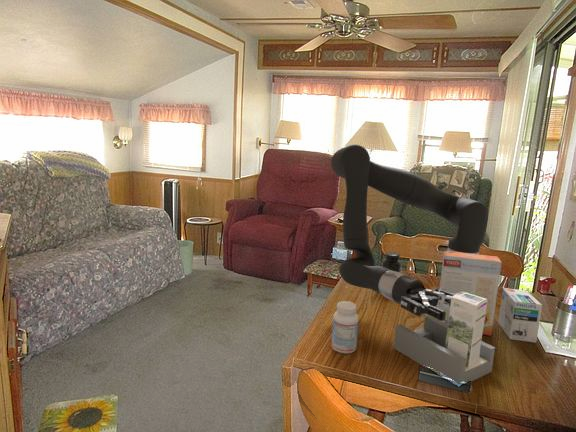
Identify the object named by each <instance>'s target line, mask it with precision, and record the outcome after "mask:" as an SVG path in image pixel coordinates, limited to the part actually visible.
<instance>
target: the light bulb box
mask: <svg viewBox="0 0 576 432" xmlns="http://www.w3.org/2000/svg"><path fill="white" fill-rule="evenodd" d="M501 295H502V296H501V301H500V309H499V314H498V320H497V323H498V324H499V325H500V327H501V329H502V330H503V332H504V333H505V335H506V336H507V338H508V339H509V340H513V341H518V342H519V341H521V342H527V343H529V342H530V343H537V339H538V334H539V333H538V332H539V327H540V322H541V315H542V310H543V304H542V303H541V302H540V301H538V300H537V299H536V298H535V297H534V296H533V295H532V294H531V293H530V292H529V291H528V290H523V289H514V288H507V287H503V288H502V294H501Z"/></svg>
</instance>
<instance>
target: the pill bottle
mask: <svg viewBox="0 0 576 432" xmlns="http://www.w3.org/2000/svg"><path fill="white" fill-rule="evenodd" d="M356 312H357V304H356V303H354V302H352V301H348V300H347V301H346V300H342V301H339V302H337V304H336V311H335V312H334V314H333V317H332V329H331V330H332V331H331V343H330V344H331V348H332V349H333V351H335V352H338V353H340V354H352V353H354V352H355V351H356V350H357V347H358V345H357V344H358V334H359V321H360V320H359V319H360V318H359V316H358V314H357V313H356Z"/></svg>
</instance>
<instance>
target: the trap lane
mask: <svg viewBox="0 0 576 432" xmlns="http://www.w3.org/2000/svg"><path fill="white" fill-rule="evenodd" d="M423 320H424V321H423V327H421V328H418V329H415V330H412V329H410V328H408V327H406V326H405V325H402V324H398V325H397V324H396V325H395V331H394V333H395V335H394V345H393V349H394V350H397V352H398V353H401V354H403V355H405V356H406V357H408V358H409V359H410V360H412V361H414V362H416V363H417V364H419V365H421V366H422V365H425V366H428V367H430V368H433V369H435V370H437V371H439V372H441V373H443V374H444V375H446V376H448V377H449V378H451V379H452V380H454V381H456V382H457V383H458V384H460V382H462V381H467V380H469V381H471V382H474V381H475V380H477V379H480V378H482V377H484V376H486V375H487V374H488V375H489V374H490V373H492V371H493V365H494V357H495V352H496V351H495V350H496V347H495V346H493V345H491V344H489V343H486V342H485V341H483V340H481V346H480V355H479V359H478V360H477V361H476V362H475V363H473V364H472V365H471V366H469V367H467V366H466V361H467V360H466V359H464V358H463V357H461V356H459V355H457V354H455V353H453V352H451V351H449V350H448V349H446V348H445V344H446V336H447V328H448V325H447V324H445V323H443V322H441V321H439V320H436V318H434V317H432V316H430V315H428V316H426V315H425V316H424V319H423Z"/></svg>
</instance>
